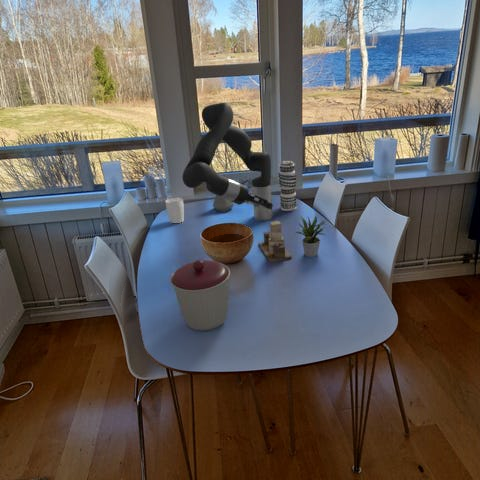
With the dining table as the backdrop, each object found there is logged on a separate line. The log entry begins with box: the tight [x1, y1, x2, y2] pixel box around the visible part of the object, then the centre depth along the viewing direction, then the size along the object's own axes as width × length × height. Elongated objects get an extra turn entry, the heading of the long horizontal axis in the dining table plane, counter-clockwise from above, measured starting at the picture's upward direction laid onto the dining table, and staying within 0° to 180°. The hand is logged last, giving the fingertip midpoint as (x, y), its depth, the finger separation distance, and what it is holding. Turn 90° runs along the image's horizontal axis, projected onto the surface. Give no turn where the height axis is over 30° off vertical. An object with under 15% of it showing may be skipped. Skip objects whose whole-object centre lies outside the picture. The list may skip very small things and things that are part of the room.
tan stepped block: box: [269, 220, 285, 254], centre depth 162 cm, size 3×6×13 cm, turn 102°
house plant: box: [294, 215, 330, 258], centre depth 159 cm, size 14×14×16 cm
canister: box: [169, 259, 231, 332], centre depth 123 cm, size 18×18×21 cm
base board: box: [258, 231, 293, 263], centre depth 167 cm, size 18×9×6 cm, turn 12°
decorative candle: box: [277, 160, 298, 212], centre depth 210 cm, size 9×9×25 cm
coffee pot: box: [212, 179, 250, 212], centre depth 220 cm, size 21×12×15 cm, turn 97°
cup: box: [165, 196, 185, 224], centre depth 208 cm, size 9×9×12 cm
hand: (265, 205), depth 159 cm, fingers open, 8 cm apart
